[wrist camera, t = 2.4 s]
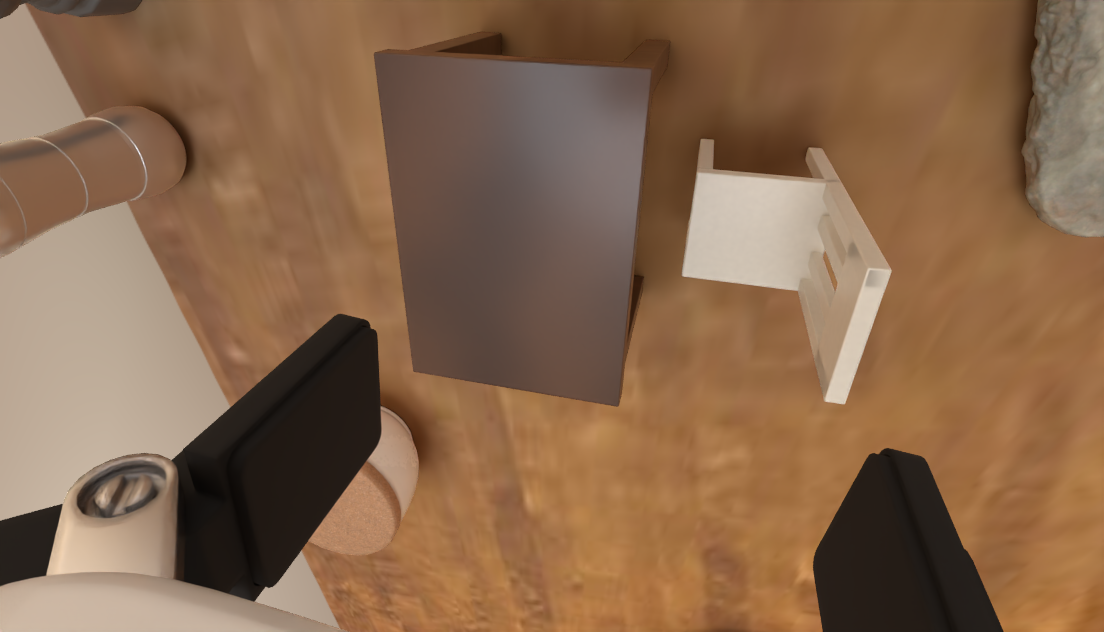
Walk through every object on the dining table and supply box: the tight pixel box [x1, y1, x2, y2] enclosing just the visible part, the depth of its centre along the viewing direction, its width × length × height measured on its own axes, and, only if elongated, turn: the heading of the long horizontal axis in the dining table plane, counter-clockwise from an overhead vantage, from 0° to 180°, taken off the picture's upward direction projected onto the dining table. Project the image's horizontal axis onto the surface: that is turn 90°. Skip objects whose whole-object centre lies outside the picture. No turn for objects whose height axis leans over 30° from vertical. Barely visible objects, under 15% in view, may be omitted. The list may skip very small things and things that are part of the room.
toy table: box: [374, 32, 670, 407], centre depth 34 cm, size 12×17×13 cm
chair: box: [682, 139, 892, 404], centre depth 30 cm, size 7×6×17 cm
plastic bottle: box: [0, 106, 186, 258], centre depth 38 cm, size 6×7×20 cm
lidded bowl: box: [308, 406, 419, 555], centre depth 52 cm, size 13×13×11 cm
